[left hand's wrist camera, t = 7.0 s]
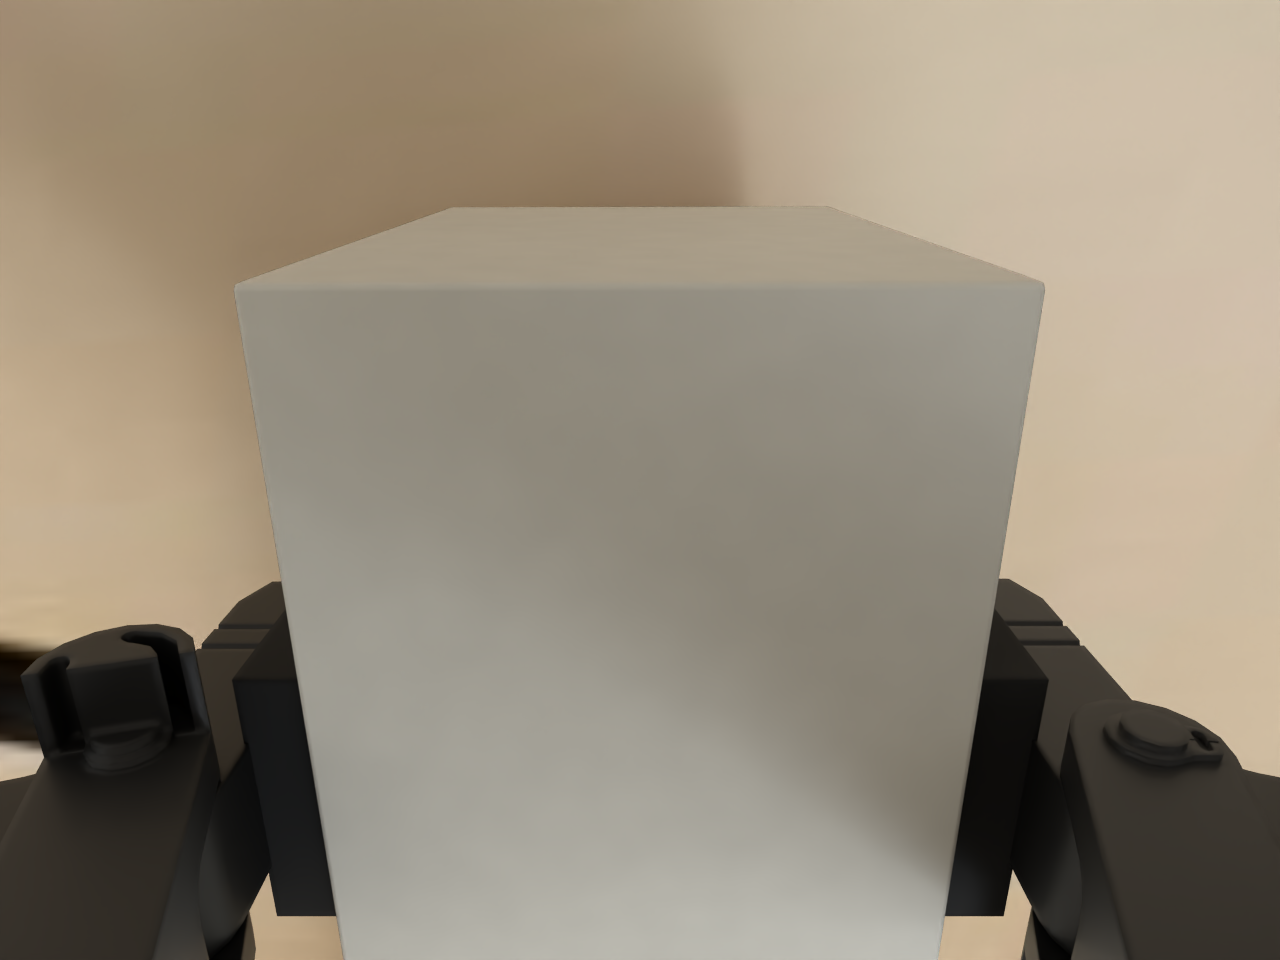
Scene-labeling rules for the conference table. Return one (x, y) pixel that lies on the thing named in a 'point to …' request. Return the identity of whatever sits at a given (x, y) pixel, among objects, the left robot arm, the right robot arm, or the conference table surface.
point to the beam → (640, 573)
